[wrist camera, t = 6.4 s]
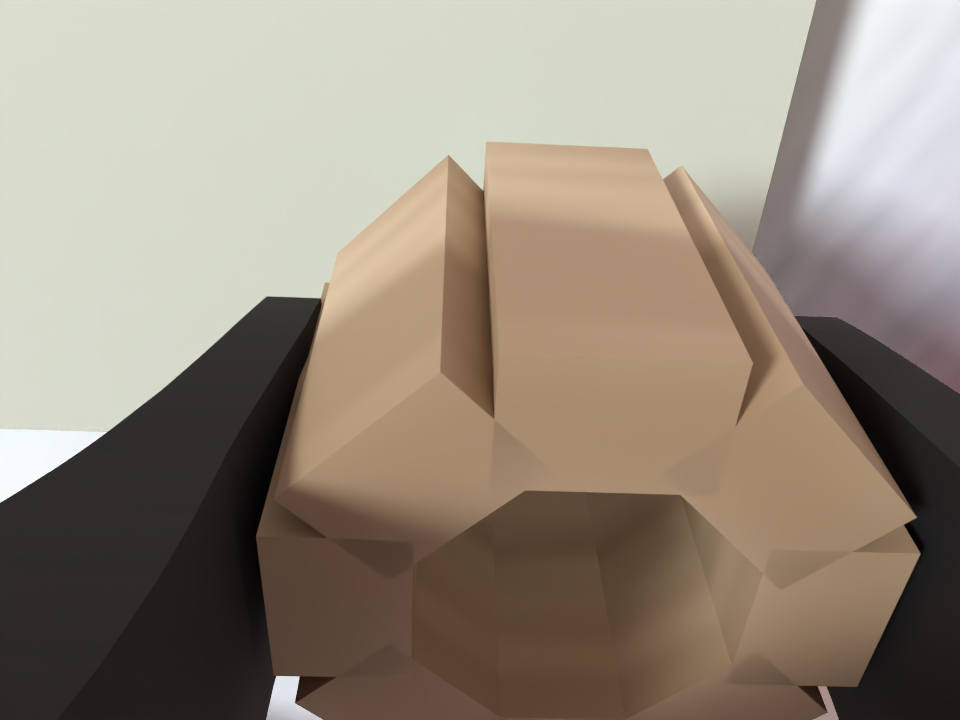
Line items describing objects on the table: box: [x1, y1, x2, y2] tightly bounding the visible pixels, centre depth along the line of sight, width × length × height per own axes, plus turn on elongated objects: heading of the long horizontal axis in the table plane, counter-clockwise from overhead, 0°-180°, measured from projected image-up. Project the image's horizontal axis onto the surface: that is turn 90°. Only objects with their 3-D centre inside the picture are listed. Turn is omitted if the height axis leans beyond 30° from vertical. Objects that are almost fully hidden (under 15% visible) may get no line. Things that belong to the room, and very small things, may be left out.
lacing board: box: [0, 0, 816, 432], centre depth 13 cm, size 10×17×6 cm, turn 87°
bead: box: [256, 142, 921, 720], centre depth 9 cm, size 5×5×4 cm
